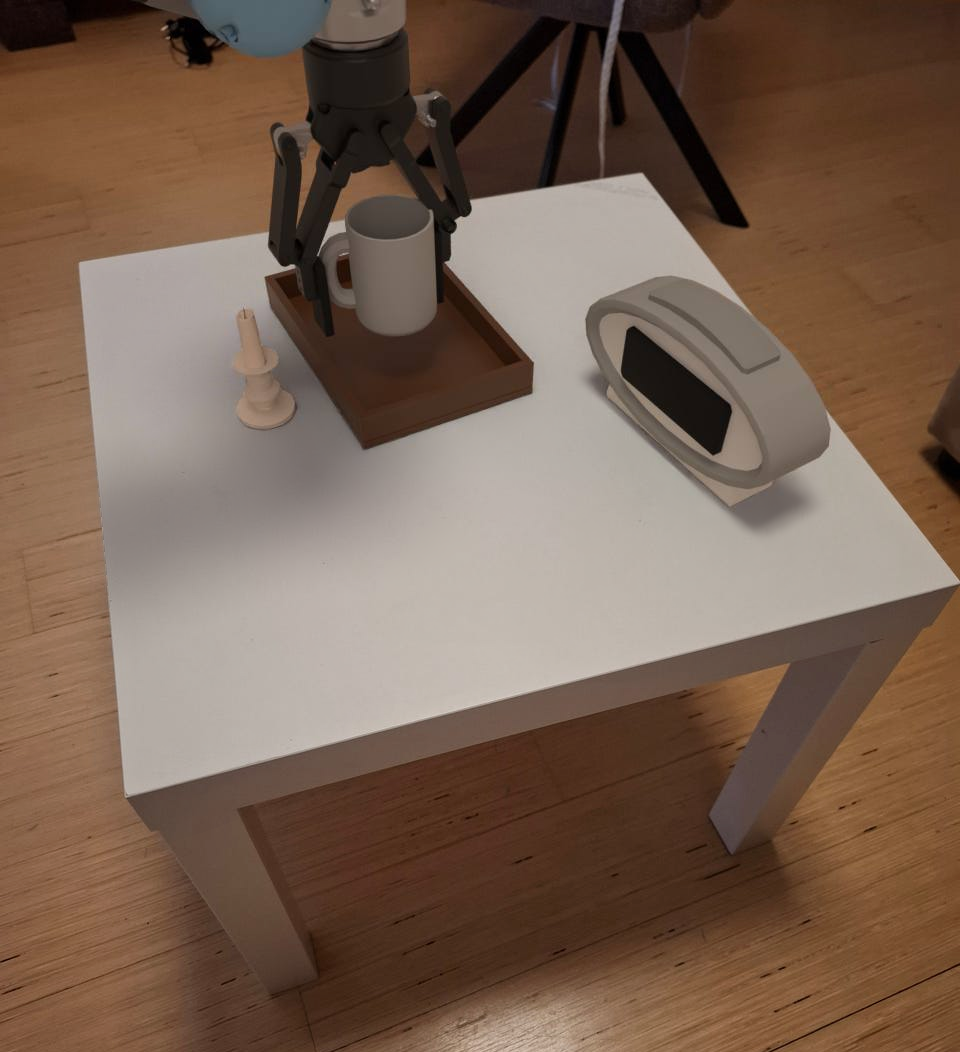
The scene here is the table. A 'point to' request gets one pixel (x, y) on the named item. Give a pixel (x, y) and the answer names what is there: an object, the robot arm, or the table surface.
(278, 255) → the robot arm
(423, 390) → the tray
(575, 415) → the table surface
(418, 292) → the cup
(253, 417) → the candle
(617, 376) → the alarm clock
